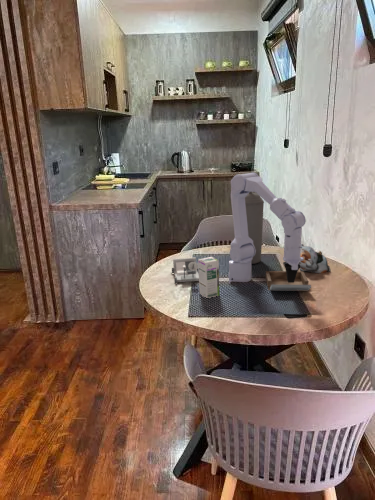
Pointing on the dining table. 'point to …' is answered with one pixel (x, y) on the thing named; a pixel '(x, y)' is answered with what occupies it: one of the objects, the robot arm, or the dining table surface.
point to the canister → (255, 222)
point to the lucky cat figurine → (313, 260)
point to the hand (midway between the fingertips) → (290, 281)
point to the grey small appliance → (185, 270)
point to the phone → (295, 315)
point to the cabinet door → (290, 287)
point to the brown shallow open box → (285, 279)
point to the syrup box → (209, 277)
